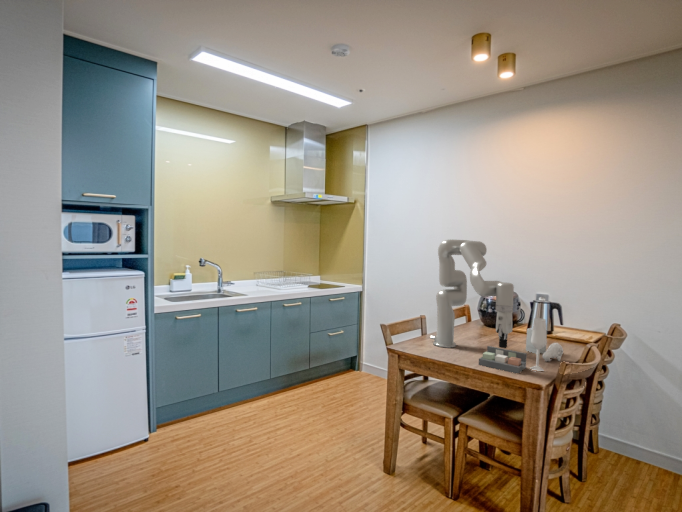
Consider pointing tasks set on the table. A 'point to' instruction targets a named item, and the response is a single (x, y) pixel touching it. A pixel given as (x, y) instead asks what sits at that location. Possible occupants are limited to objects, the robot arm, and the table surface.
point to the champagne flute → (538, 339)
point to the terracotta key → (514, 361)
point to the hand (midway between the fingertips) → (502, 347)
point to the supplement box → (529, 345)
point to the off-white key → (501, 358)
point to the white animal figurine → (553, 352)
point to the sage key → (488, 355)
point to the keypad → (505, 365)
